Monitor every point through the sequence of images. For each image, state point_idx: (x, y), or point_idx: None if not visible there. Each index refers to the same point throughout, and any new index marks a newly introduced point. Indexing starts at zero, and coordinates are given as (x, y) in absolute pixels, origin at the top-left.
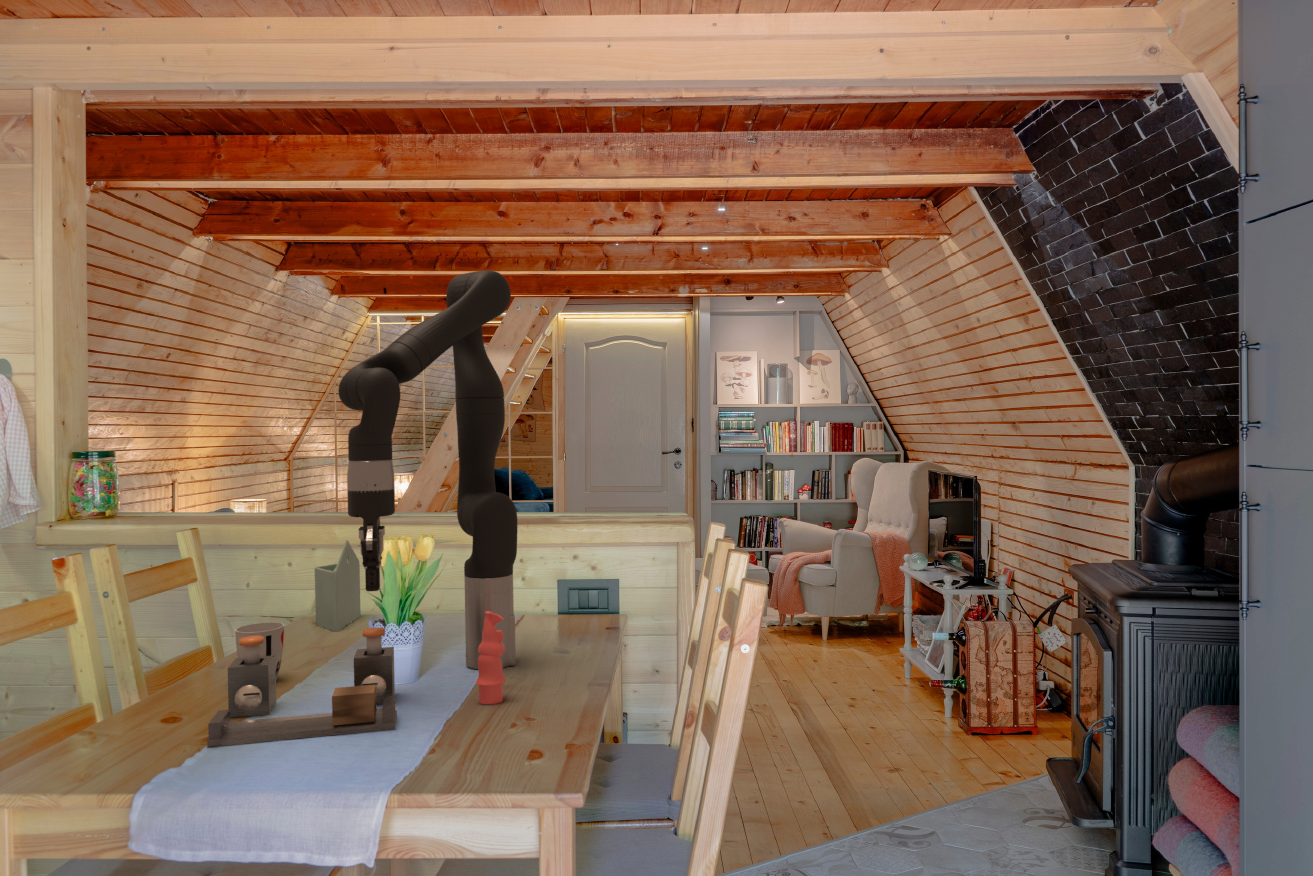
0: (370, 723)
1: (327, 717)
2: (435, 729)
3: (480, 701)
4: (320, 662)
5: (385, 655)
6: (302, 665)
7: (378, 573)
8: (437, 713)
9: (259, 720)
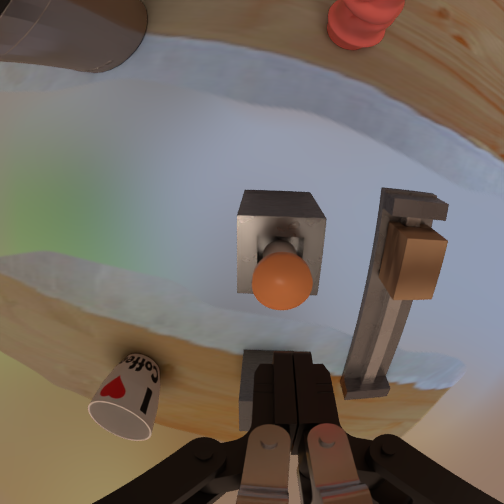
0: None
1: None
2: (450, 139)
3: (359, 48)
4: (59, 306)
5: (319, 233)
6: (72, 326)
7: (317, 406)
8: (387, 123)
9: (375, 358)
